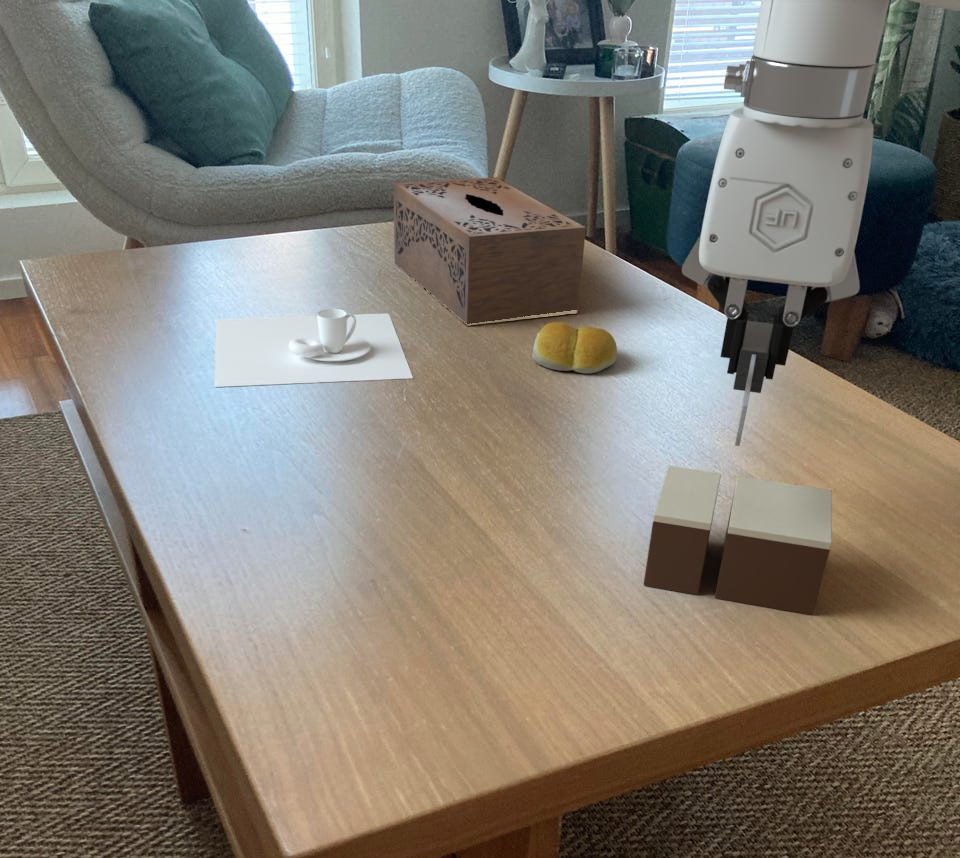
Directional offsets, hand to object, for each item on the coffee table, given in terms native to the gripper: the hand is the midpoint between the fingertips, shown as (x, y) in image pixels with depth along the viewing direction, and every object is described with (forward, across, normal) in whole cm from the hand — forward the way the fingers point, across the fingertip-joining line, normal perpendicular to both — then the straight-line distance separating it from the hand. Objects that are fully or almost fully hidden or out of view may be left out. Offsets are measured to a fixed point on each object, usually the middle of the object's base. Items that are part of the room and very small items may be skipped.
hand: (751, 368), depth 76 cm
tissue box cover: (+13, -35, +51) cm, 63 cm away
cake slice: (+13, -3, -8) cm, 15 cm away
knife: (+1, 0, -4) cm, 4 cm away
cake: (+13, +4, -8) cm, 16 cm away
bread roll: (+13, -19, +30) cm, 38 cm away
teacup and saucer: (+13, -47, +24) cm, 54 cm away
